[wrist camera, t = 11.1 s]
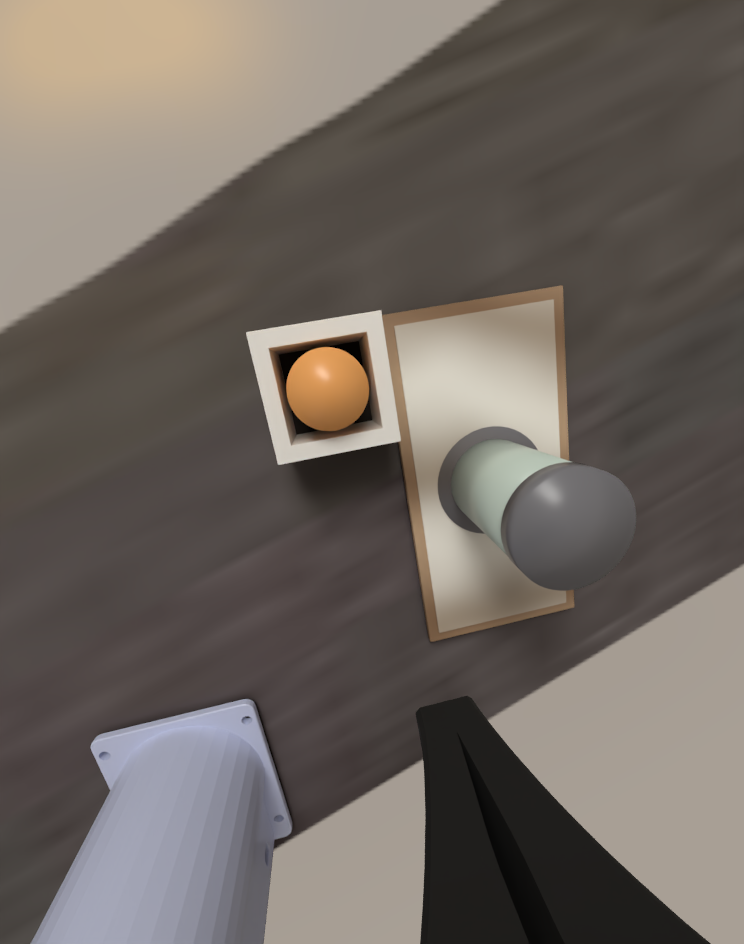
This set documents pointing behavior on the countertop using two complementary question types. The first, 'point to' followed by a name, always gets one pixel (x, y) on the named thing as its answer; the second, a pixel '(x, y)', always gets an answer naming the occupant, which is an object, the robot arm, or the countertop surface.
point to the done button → (327, 389)
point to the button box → (318, 335)
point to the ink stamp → (546, 512)
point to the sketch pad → (474, 441)
